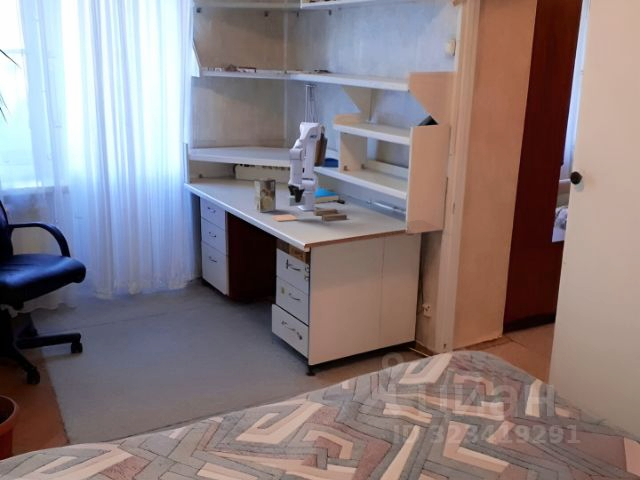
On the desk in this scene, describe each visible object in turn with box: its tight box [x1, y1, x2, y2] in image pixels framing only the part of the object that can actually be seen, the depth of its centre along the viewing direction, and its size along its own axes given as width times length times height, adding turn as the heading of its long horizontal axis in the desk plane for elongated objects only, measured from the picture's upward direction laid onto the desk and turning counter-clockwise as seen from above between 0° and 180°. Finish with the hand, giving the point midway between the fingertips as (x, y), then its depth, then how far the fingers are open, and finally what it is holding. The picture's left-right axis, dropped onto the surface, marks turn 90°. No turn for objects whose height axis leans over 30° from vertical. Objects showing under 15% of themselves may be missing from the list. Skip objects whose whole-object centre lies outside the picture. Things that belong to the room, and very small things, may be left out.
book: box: [315, 187, 340, 204], centre depth 371 cm, size 17×4×25 cm
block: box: [285, 195, 305, 207], centre depth 322 cm, size 5×8×4 cm, turn 113°
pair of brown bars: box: [313, 208, 348, 222], centre depth 329 cm, size 14×12×2 cm
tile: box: [271, 213, 299, 223], centre depth 323 cm, size 10×10×1 cm
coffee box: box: [253, 177, 277, 213], centre depth 336 cm, size 9×6×16 cm
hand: (295, 201), depth 322 cm, fingers closed on block, 5 cm apart
